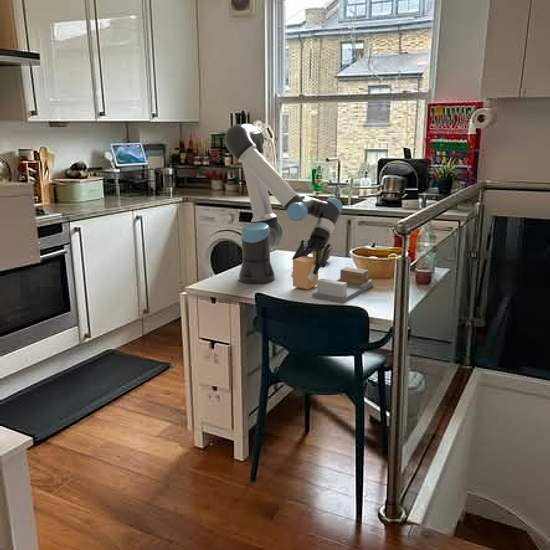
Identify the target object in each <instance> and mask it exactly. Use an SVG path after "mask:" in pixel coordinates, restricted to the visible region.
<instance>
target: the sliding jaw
mask: <svg viewBox="0 0 550 550" xmlns="http://www.w3.org/2000/svg"><path fill="white" fill-rule="evenodd" d="M339 270H340V271H339V274H340V276H339V278H340V282H346V283H352V284H358V285H361V284H363V283H365V282H367V281H369V270H368V269H362V268H355V267H349V266H345V267H344V268H341V269H339Z"/></svg>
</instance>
